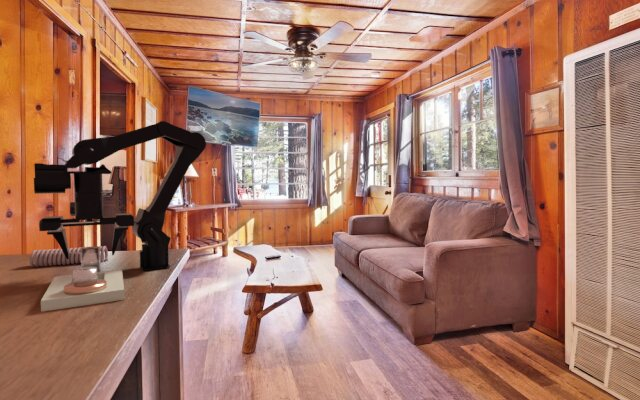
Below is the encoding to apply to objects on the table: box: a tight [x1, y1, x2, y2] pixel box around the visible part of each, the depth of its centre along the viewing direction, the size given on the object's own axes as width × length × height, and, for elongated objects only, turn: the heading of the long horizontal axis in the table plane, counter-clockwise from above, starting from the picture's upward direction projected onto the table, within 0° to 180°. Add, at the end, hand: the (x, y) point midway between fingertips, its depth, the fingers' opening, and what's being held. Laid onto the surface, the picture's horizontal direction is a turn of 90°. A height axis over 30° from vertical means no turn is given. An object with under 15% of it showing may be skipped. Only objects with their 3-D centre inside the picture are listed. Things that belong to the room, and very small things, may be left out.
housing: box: [40, 268, 125, 312], centre depth 74 cm, size 13×18×2 cm
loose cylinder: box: [79, 245, 102, 272], centre depth 86 cm, size 4×4×7 cm
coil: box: [29, 245, 109, 268], centre depth 99 cm, size 5×5×18 cm
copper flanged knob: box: [64, 267, 107, 295], centre depth 69 cm, size 7×7×4 cm
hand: (91, 256), depth 86 cm, fingers open, 9 cm apart
